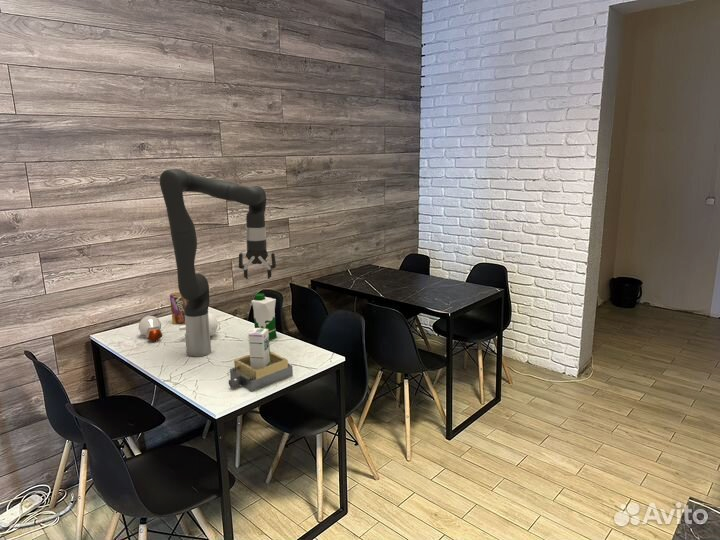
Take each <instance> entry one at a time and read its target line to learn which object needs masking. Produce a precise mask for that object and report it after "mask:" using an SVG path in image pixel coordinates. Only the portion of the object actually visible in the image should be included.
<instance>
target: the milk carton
mask: <svg viewBox="0 0 720 540" xmlns="http://www.w3.org/2000/svg"><path fill="white" fill-rule="evenodd" d="M276 302H277V299H276V298H272V297H267V296H265V293H262V292H261V293H255V299H253V300H251V305H252V309H253V319H254V320H253V321H254V328H267V329H268V332H269V341H271V340H273V339H275V338H277V337H278V336H277V329H276V316H275V315H276V313H275V310H276V309H275V308H276Z"/></svg>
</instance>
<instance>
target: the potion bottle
mask: <svg viewBox="0 0 720 540" xmlns="http://www.w3.org/2000/svg"><path fill="white" fill-rule="evenodd" d="M138 331H139V332H140V334H142V335H143V336H144V337H145V338H146V339H147V340H148V341H151V342H153V343H157V342H158V341H160V339H161V338H162V337H163V332H162V323H161V321H160V319H159V318H158V317H157V316H153V315H146V316H145V317H142V318H141V320H140V321H139V322H138Z"/></svg>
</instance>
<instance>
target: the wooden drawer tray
mask: <svg viewBox="0 0 720 540" xmlns="http://www.w3.org/2000/svg"><path fill="white" fill-rule="evenodd" d="M270 362H271V364H270V365H269V366H266V367H263V368H260V369H258V370H256V369H254V368H252V367H251V363H250V354H247V355H245V356H242V357H239V358H237V359H234V360H233V363H234V365H233V366H234V367H232V368H230V369H229V376H230V379H229V380H228V385H229V387H230V389H233V388H236V387H238V386H241V387H243V388H245V389H246V390H248V391H250V392H255V391H258V390H260V389H263V388H265V387H268V386H270V385H273V384H276V383H278V382H281V381H283V380H285V379H287V378H290V377H292V376H293V374H294V373H293V365H292V364H290V362H289V360H288V359H287V358H284V357H283V356H280V355H278V354H276V353H274V352H272V351H270Z"/></svg>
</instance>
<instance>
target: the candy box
mask: <svg viewBox="0 0 720 540" xmlns="http://www.w3.org/2000/svg"><path fill="white" fill-rule="evenodd" d="M169 301H170V310H171V311H170V312H171V321H172V325H186V323H185V313H184V308H185V306H186V305H187V302H188V300H186V299H184V298H183V297H182V296H181V294H180V292H179V291H173V292H171V293H169Z"/></svg>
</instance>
